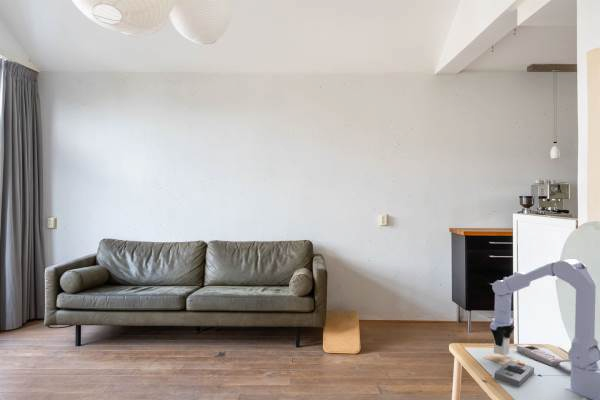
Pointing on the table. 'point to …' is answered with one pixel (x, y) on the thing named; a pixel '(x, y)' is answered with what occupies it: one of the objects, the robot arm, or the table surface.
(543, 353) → the mobile phone
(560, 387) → the table surface
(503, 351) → the white rectangular block
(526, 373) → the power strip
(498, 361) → the cork coaster
